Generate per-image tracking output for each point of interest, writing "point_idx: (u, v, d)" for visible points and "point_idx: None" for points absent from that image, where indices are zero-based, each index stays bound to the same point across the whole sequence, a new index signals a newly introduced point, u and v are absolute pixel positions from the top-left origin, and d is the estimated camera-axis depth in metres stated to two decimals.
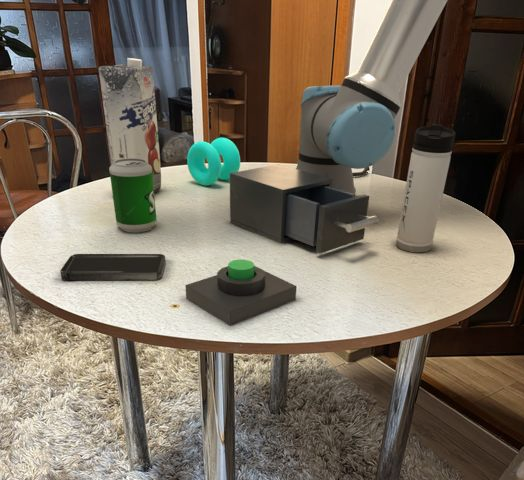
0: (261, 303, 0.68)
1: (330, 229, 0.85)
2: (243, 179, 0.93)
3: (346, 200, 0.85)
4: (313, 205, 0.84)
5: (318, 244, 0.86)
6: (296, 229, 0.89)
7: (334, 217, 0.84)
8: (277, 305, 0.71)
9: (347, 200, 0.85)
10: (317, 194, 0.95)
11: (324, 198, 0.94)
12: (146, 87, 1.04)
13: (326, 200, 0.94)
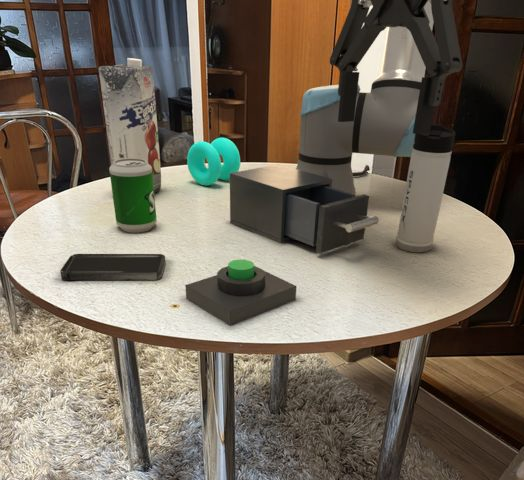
0: (261, 303, 0.68)
1: (330, 229, 0.85)
2: (243, 179, 0.93)
3: (346, 200, 0.85)
4: (313, 205, 0.84)
5: (318, 244, 0.86)
6: (296, 229, 0.89)
7: (334, 217, 0.84)
8: (277, 305, 0.71)
9: (347, 200, 0.85)
10: (317, 194, 0.95)
11: (324, 198, 0.94)
12: (146, 87, 1.04)
13: (326, 200, 0.94)
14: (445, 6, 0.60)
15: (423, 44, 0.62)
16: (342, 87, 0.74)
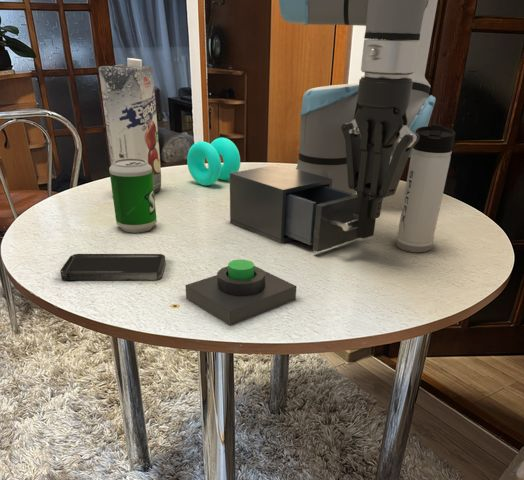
0: (261, 303, 0.68)
1: (327, 228, 0.85)
2: (243, 179, 0.93)
3: (343, 199, 0.86)
4: (310, 204, 0.85)
5: (315, 243, 0.86)
6: (293, 228, 0.90)
7: (331, 216, 0.85)
8: (277, 305, 0.71)
9: (344, 199, 0.86)
10: (314, 193, 0.96)
11: (321, 197, 0.95)
12: (146, 87, 1.04)
13: (323, 199, 0.94)
14: (405, 153, 0.74)
15: (377, 172, 0.78)
16: (360, 209, 0.82)
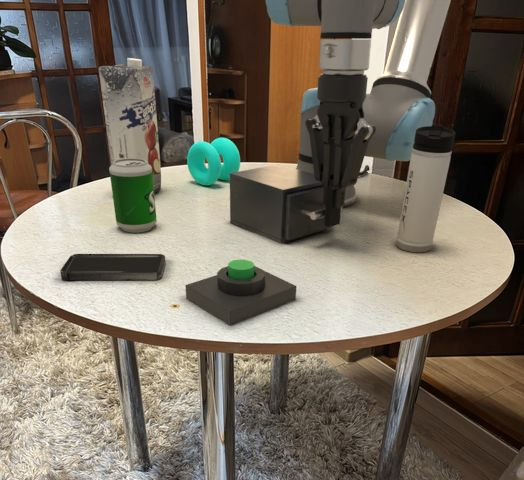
0: (261, 303, 0.68)
1: (296, 217, 0.90)
2: (243, 179, 0.93)
3: (311, 190, 0.90)
4: None
5: (285, 231, 0.91)
6: None
7: (300, 206, 0.89)
8: (277, 305, 0.71)
9: (312, 190, 0.90)
10: None
11: None
12: (146, 87, 1.04)
13: None
14: (362, 144, 0.79)
15: (338, 164, 0.83)
16: (327, 200, 0.87)
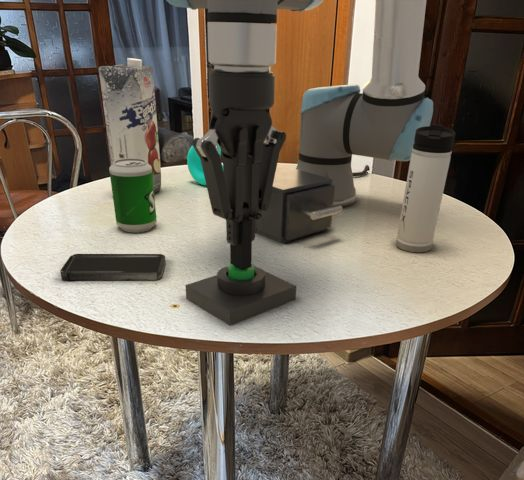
0: (261, 303, 0.68)
1: (296, 217, 0.90)
2: None
3: (311, 190, 0.90)
4: None
5: (285, 231, 0.91)
6: None
7: (300, 206, 0.89)
8: (277, 305, 0.71)
9: (312, 190, 0.90)
10: None
11: None
12: (146, 87, 1.04)
13: None
14: (206, 163, 0.59)
15: None
16: None
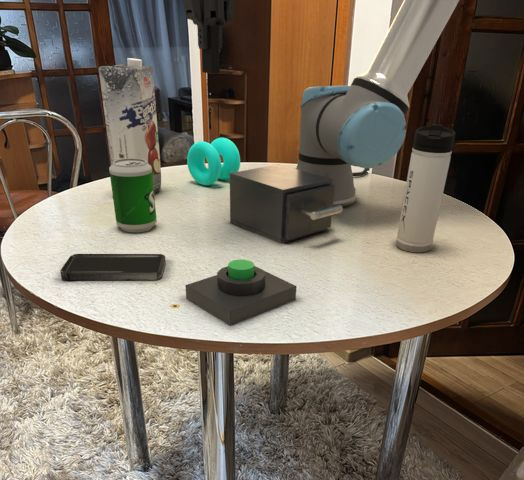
0: (261, 303, 0.68)
1: (296, 217, 0.90)
2: (243, 179, 0.93)
3: (311, 190, 0.90)
4: None
5: (285, 231, 0.91)
6: None
7: (300, 206, 0.89)
8: (277, 305, 0.71)
9: (312, 190, 0.90)
10: None
11: None
12: (146, 87, 1.04)
13: None
14: None
15: None
16: None
